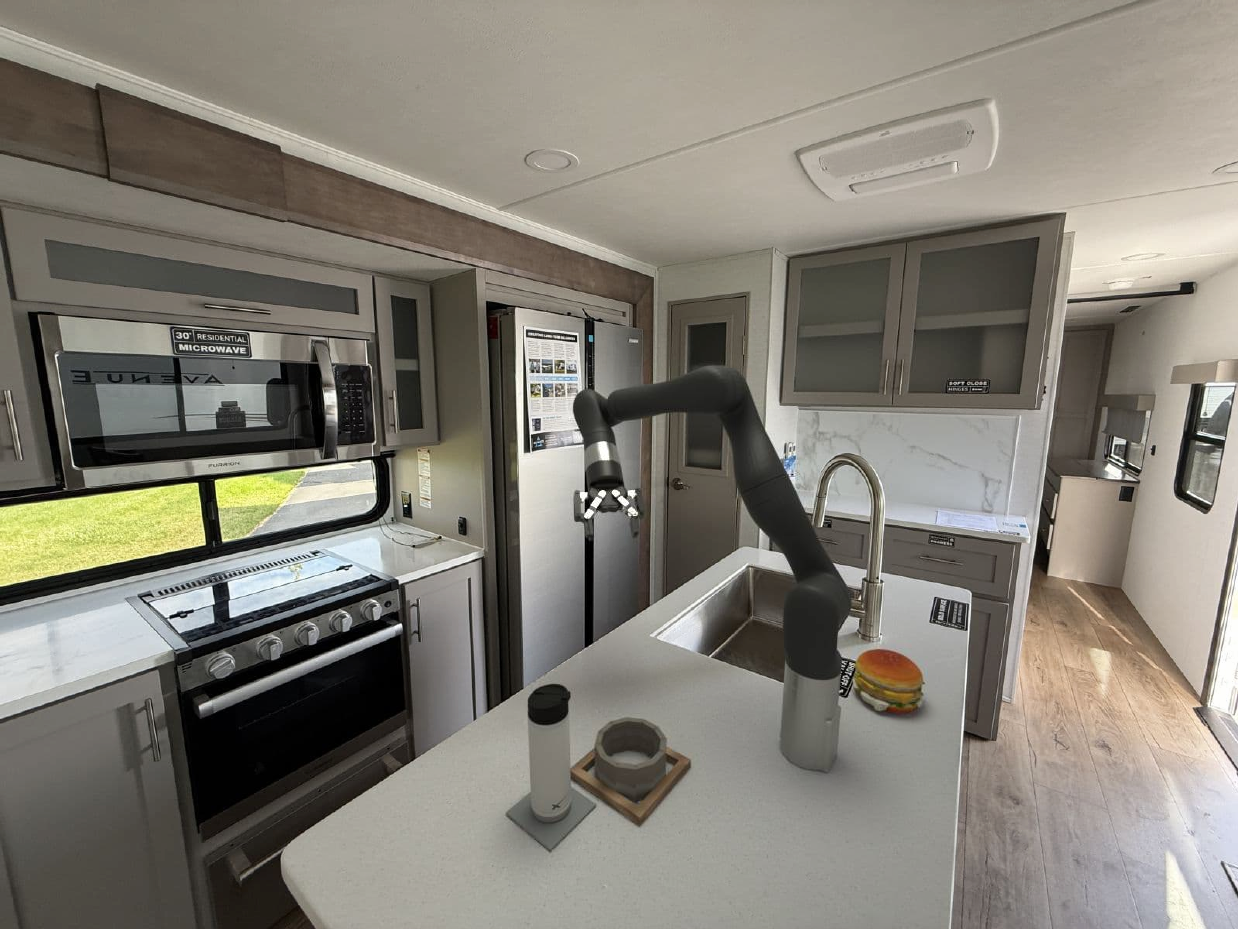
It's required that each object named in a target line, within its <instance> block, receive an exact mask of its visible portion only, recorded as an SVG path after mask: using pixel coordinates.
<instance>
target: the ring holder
mask: <svg viewBox="0 0 1238 929" xmlns="http://www.w3.org/2000/svg"><path fill="white" fill-rule="evenodd" d="M667 744H668V743H667V737H666V735H665V734H664V732H663V731H662V730H661V728H660V727H659V726H658V725H656V724H654V723H653V722H651V721H648V720H647V719H645V718H638V717H629V716H625V717H622V718H621V717H620V718H618V719H613V720H610V721H609V722H607V723H606V724H605V725H604V726H602V727H601V728H600V729H599V730H598V731H597V733H596V738H595V742H594V747H593V748H592V749H591V750H590V751H589V752H588V753H586V754H585V755H584V756H583V757H581V759H579V760H578V761H577V762H576V763H575V764H573V765H572V766H570V772H571V781H573V782H575V783H576V784H578V785H580V786H581V787H583V789H585V790H587V791H588V792H589V793H591V794H593V795H594V796H596V797H597V798H598V799H600V800H601V801H603V802H605V803H606V804H607V805H609V807H611V808H613V809H615V810H616V811H617V812H619V813H620V814H622V815H623V816H625V817H626V818H627V819H629V820H631V821H632V822H634V824H636V825H637V826H640V827H641V825H642V824H643V823H644V822H645V820H647V818H648V817H649V816H650V815H651V814H652V813H653V812H654V810H655V809H656V808H657V807H658V806H659V804H661V802H662V801H663V800H664V799H665V798H666V796H667V795H668V794H669V793H670V792H671V791H672V789H673V788H674V787H675V786H676V785H677V783H679V781H681V779H682V778H683V777H684V775H685V774H686V773H687V772H688V771H689V770H690V769H691V766H692V765H691V764H692V760H691V758H689V757H687V756H685V755H684V754H682V753H680V752H678V751H676V750H674V749H672V748H670V747H669V746H667ZM626 751H631V752H639V753H642V754H644V755H646V756H647V757H649V758H651V759H649V760H645V761H641V762H638V763H626V762H619V761H617V760H616V759H614V758H612V756H613V755H615V754H618V753H622V752H626ZM667 763H669V764H671V765H672V768H670V770H668V772H667V771H666V770H667ZM592 767H594V776H593V775H592V774H591V773H589V772H588V771H589V770H590V769H592ZM666 772H667V773H666ZM640 801H641V802H640ZM638 802H640V803H639V804H636V803H638Z"/></svg>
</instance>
